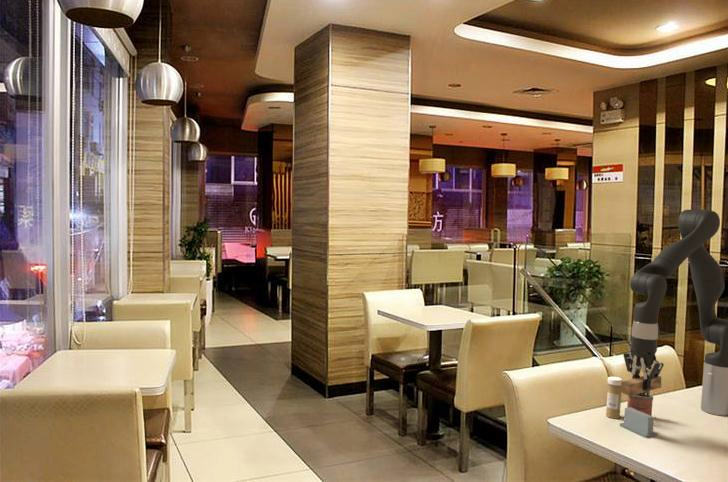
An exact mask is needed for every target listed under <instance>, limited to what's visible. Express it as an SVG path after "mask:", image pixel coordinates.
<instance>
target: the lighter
mask: <svg viewBox="0 0 728 482" xmlns="http://www.w3.org/2000/svg"><path fill="white" fill-rule="evenodd" d="M650 394H651V390H650V391H646V392H642V393H639V394H635V395H631V396H628V395H627V406H626V408H629V407H631V408H633V409H636V410H638V411H640V412H643V413H645V414H648V415H650V416H652V417H653V414H652V413H653V411H652V410H653V401H654V396H653V395H650Z"/></svg>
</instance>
